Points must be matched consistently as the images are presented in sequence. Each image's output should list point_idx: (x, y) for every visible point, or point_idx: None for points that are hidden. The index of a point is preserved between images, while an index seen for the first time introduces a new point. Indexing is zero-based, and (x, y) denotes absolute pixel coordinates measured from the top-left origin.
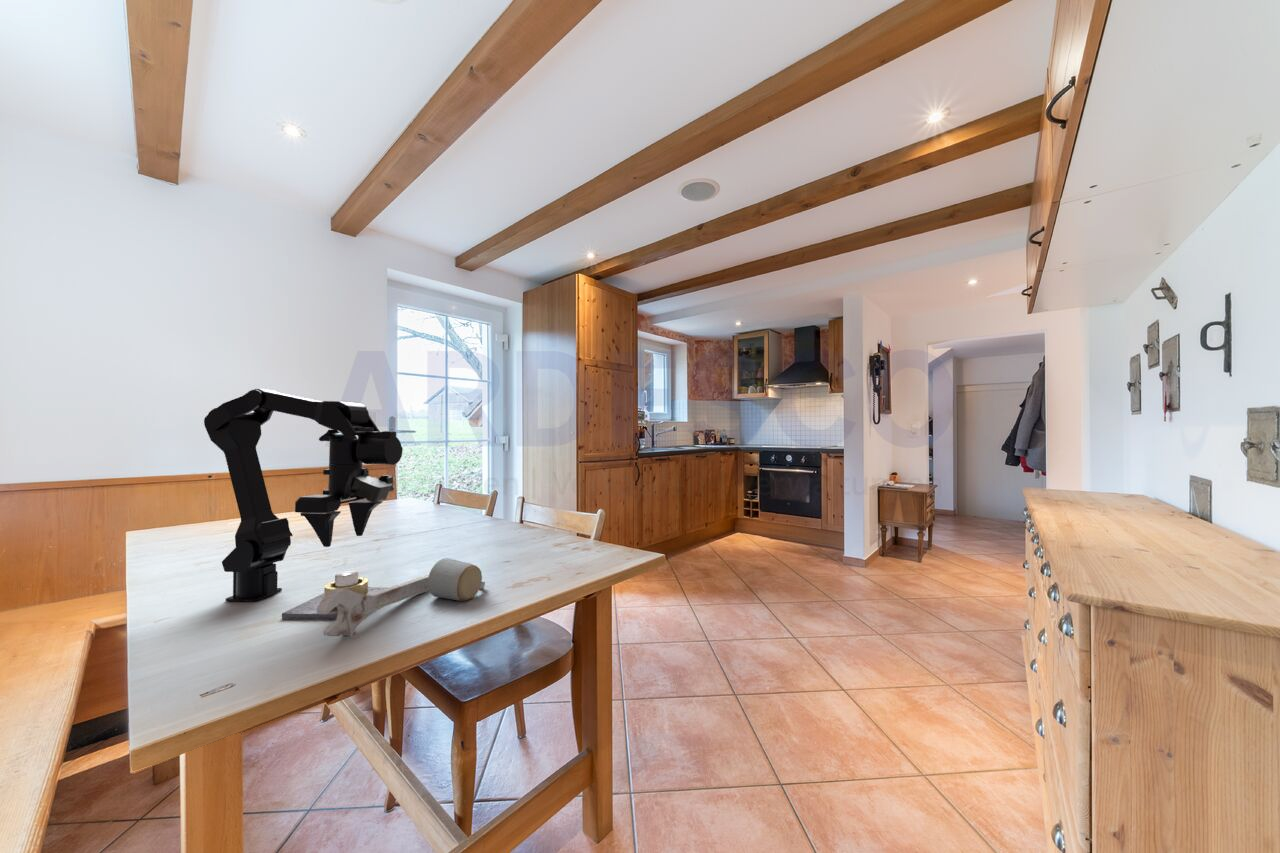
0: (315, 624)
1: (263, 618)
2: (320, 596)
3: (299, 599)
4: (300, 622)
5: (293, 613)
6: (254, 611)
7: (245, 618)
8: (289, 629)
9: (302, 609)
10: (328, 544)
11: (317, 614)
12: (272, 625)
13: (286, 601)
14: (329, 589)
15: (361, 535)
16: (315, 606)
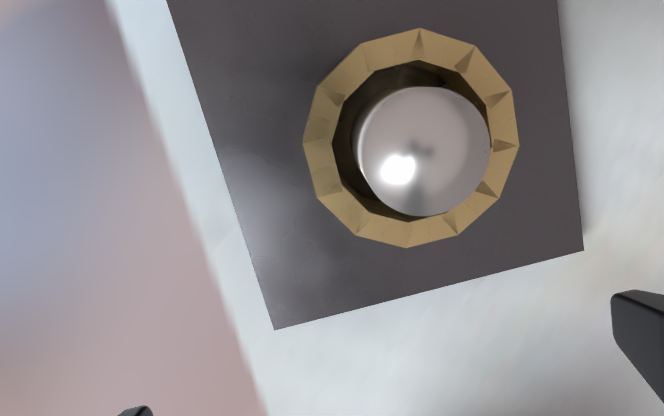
0: (596, 60)
1: (572, 313)
2: (392, 285)
3: (388, 375)
4: (586, 142)
5: (576, 207)
6: (522, 405)
7: (580, 370)
8: (650, 118)
9: (534, 213)
10: (659, 295)
11: (565, 101)
12: (623, 218)
13: (417, 399)
14: (517, 145)
15: (140, 407)
16: None
